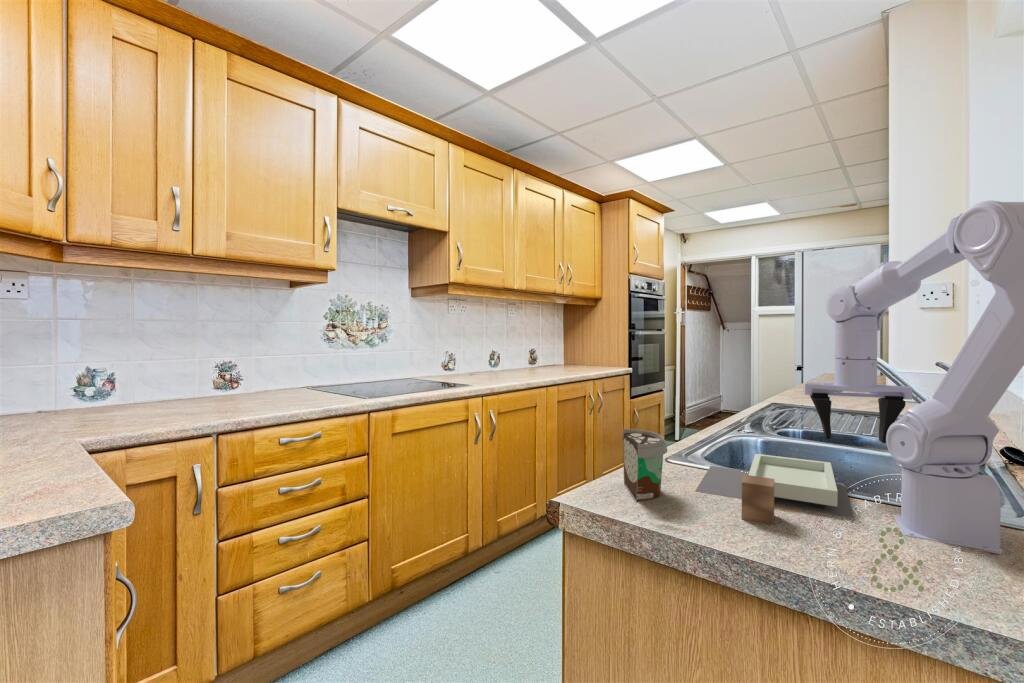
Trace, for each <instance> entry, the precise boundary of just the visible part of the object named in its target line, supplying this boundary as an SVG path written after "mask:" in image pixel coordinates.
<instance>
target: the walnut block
mask: <svg viewBox="0 0 1024 683" xmlns="http://www.w3.org/2000/svg"><path fill="white" fill-rule="evenodd" d="M741 520H743V521H749V522H754V523H759V524H765V525H770V526H773V525H774V520H775V505H774V479H772V478H765V477H758V476H751V475H744V477H743V480H742V499H741Z"/></svg>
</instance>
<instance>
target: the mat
mask: <svg viewBox="0 0 1024 683" xmlns="http://www.w3.org/2000/svg"><path fill="white" fill-rule="evenodd" d="M741 471H743V472H741ZM745 472H746V473H745ZM747 472H748V473H747ZM749 472H750V470H745V469H739V468H731V467H724V466H723V467H722V466H717V465H710V466H709V468H708V469H707V471H706V473H705V474H704V476H703V477H702V479H701V481H700V482H699V484H698V486H697V487H696V489H695V490H694V492H697V493H703V494H708V495H715V496H721V497H725V498H726V497H727V498H733V499H739V500H742V480H743V477H744V475H749ZM835 483H836V487H837V491H838V498H837V507H836V506H830V505H825V508H821V507H817V503H811V502H805V501H798V500H792V499H786V498H779V497H774V506H781V507H786V508H793V509H799V510H804V511H811V512H817V513H822V514H828V515H834V516H835V515H836V516H841V517H845V518H846V517H848V518H852V519H853V518H855V517H854V513H853V510H852V506H851V502H850V500H849V496H848V492H847V488H846V486H845V483H841V482H835Z"/></svg>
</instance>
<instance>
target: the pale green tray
mask: <svg viewBox="0 0 1024 683" xmlns="http://www.w3.org/2000/svg"><path fill="white" fill-rule="evenodd" d="M749 471H750V472H749V475H751V476H758V477H765V478H772V479H774V497H779V498H786V499H792V500H798V501H805V502H811V503H817V507H821V508H825V505H830V506H836V507H837V498H838V491H837V487H836V483H837V482H836V479H835V476H834V471H833V466H832V463H831V462H829V461H820V460H812V459H803V458H795V457H787V456H777V455H769V454H760V453H755V454H754V457H753V459H752V462H751V465H750V468H749Z"/></svg>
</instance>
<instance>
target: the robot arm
mask: <svg viewBox="0 0 1024 683" xmlns="http://www.w3.org/2000/svg"><path fill="white" fill-rule="evenodd" d="M964 260H967V262H968V263H969V264H970V265H971V266H972V267H973V268H974V269H975V270H976V271H977V272H978V273H979V275H980V276H982V277H983V279H984V280H985V281H987V282H989V283H991V285H992V287H993V289H994V291H995V292H994V295H993V296H992V298H991V300H990V301H989V302H988V303H987V304H988V305H987V306H986V308H985V310H984V311H983V313H982V314H981V316H980V317H979V319H978V320H977V322H976V324H975V326H974V328H973V329H972V330H971V333H970V334H969V335H968V337H967V339H966V340H965V341H964V342H965V343H964V344H963V346H962V347H961V349H960V350H959V352H958V354H957V355H956V357H955V358H954V361H952V363H951V365H950V367H949V369H948V370H947V372H946V373H945V375H944V377H943V378H942V379H941V382H940V384H939V385H938V387H937V389H936V390H935V392H934V393H933V395H932V396H931V398H929V399H927V400H924V401H923V402H920V403H918V404H916V405H914V406H912V407H909V408H908V409H906V411H905V413H904V414H903V416H902V417H901V418H900V419H898V417H899V415H901V413H902V411H904V409H905V407H906V401H905V400H913V387H911V386H909V385H891V384H890V385H889V384H878V332H879V331H881V328H882V321H883V318H884V317H885V315H886V313H887V311H888V308H890V307H892V306H894V305H896V304H897V303H900V302H901V301H903V300H904V299H907V298H909V297H910V296H913V295H915V294H916V293H917V292H918V291H919V290H920V288H921V285H922V281H924V280H925V279H927V278H929V277H931V276H933V275H936V274H937V273H940V272H942V271H944V270H946V269H948V268H950V267H952V266H955V265H956V264H958V263H960V262H962V261H964ZM827 296H828V297H827V299H826V311H827V312H826V313H827V314H828V316H829V318H830V319H832V320H833V321H834V382H803V395H804V396H809V397H810V399H811V401H812V403H813V405H814V407H815V409H816V411H817V414H818V416H819V419H820V422H821V426H822V432H823V437H824V439H827V440H828V439H829V440H832V429H831V428H832V426H831V412H832V411H831V410H832V400H831V399H830V398H831V397H830V396H835V397H836V396H837V397H838V396H839V397H854V398H855V397H856V398H857V397H858V398H861V397H862V398H878V399H877V401H878V412H879V424H878V425H879V426H878V440H879V441H880V442H881V443H882V444H886V448H887V449H888V452H889V454H890V456H891V457H892V458H893V460H894V461H896V465H897V466H899V467H901V500H900V501H901V504H900V506H901V507H900V508H901V510H900V514H897V513H896V514H893V518H894V519H895V520H894V521H895V522H896V524H897V526H898V529H899V530H900V532H901V534H902V535H903V536H904V537H909V538H915V539H920V540H927V541H932V542H938V543H945V544H951V545H956V546H961V547H967V548H972V549H978V550H985V551H986V552H987V553H990V554H997V555H1002V553H1003V552H1002V551H1003V550H1002V549H1001V516H1002V515H1001V512H1002V511H1001V509H1002V508H1001V505H1002V502H1001V495H1000V489H999V486H998V483H997V481H996V479H995V478H994V477H992V476H990V475H986V474H979V473H980V466H983V465H985V464H986V463H987V462H988V461H989V460H990V458H991V456H992V454H993V444H994V440H995V438H996V436H997V435H998V433H999V432H1000V429H999V428H998V426H997V425H996V423H995V422H994V421H993V420H992V419H991V417H989V415H990V414H991V412H992V411H993V409H994V408H995V406H996V405H997V404H998V402H999V401H1000V399H1001V398H1002V397H1003V396H1004V394H1005V392H1006V391H1007V389H1008V388H1009V387H1010V386H1011V384H1012V382H1014V380H1015V378H1016V377H1017V376H1018V374H1019V372H1020V371H1021V370H1022V368H1023V367H1024V201H1000V200H999V201H998V200H982V201H979V202H976V203H974V204H973V205H971V206H969V207H968V208H967V209H965V210H964V211H963V212H962V213H959V214H957V215H956V216H953V217H952V218H951V219H950V220H949V224H948V226H947V229H946V230H945V231H943V232H942V233H941V234H939V235H937V236H936V237H935V238H933V239H932V240H931V241H929V242H928V243H926V245H923V247H921V248H920V249H919V250H917V251H916V252H914V253H913V254H912V255H910V256H909V257H907V258H906V259H904V260H903V261H899V260H898V261H897V260H893V261H892V260H891V261H882V262H880V263H879V264H878V265H877V268H876V269H875V270H874V271H872V272H870V273H868V275H866V276H864V277H860V278H859V279H857V280H856V282H855V283H854V284H852V285H848V286H846V285H837V286H835V288H834V289H832V290H831V291H830V293H829V294H828V295H827Z"/></svg>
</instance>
